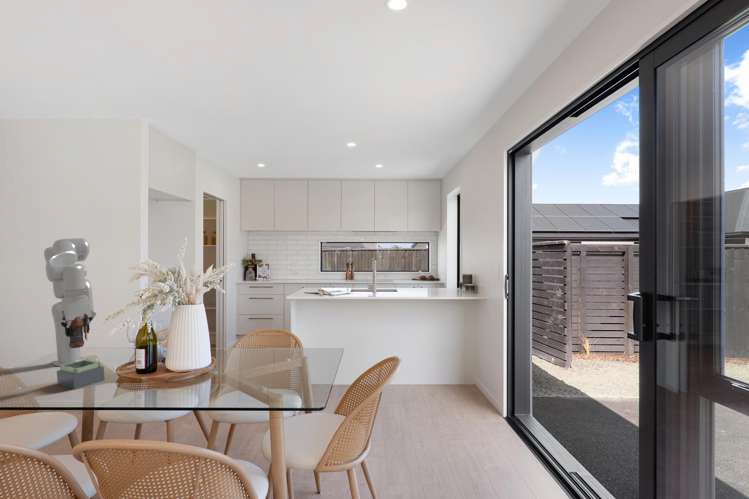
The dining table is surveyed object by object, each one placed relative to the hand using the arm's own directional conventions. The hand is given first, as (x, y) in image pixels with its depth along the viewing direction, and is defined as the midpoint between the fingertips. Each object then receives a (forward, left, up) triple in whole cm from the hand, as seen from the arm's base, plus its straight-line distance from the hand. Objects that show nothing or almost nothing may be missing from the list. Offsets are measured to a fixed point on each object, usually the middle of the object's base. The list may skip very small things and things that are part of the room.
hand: (77, 334), depth 182 cm
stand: (0, 0, -21) cm, 21 cm away
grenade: (0, 0, -6) cm, 6 cm away
